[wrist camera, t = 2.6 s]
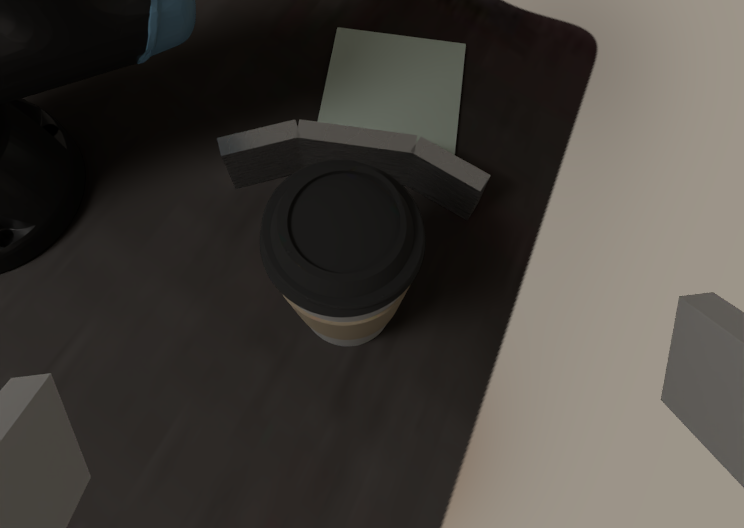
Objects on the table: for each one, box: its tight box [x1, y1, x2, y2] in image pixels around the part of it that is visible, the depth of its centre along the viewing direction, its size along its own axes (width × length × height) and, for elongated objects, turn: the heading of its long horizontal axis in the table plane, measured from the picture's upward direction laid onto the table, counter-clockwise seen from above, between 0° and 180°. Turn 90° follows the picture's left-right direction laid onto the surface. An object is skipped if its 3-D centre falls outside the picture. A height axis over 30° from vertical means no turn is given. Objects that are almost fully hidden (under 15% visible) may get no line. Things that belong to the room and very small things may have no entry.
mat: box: [318, 27, 466, 155], centre depth 48 cm, size 12×12×1 cm
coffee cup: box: [260, 160, 425, 346], centre depth 34 cm, size 9×9×15 cm
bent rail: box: [217, 119, 491, 220], centre depth 43 cm, size 20×4×5 cm, turn 82°
